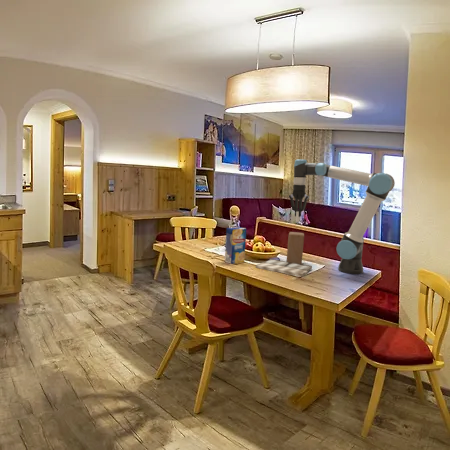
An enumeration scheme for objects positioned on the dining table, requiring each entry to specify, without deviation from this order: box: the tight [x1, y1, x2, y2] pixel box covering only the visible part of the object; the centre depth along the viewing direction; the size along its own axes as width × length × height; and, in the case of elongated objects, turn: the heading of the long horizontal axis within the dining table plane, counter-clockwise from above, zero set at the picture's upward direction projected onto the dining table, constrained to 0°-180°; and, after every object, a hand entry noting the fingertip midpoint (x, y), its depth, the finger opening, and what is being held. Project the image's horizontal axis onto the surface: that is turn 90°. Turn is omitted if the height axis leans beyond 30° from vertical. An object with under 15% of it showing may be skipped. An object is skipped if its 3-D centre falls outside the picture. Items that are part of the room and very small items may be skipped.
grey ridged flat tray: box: [255, 262, 309, 277], centre depth 245 cm, size 30×10×2 cm, turn 59°
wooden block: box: [286, 231, 305, 265], centre depth 266 cm, size 10×10×20 cm
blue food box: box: [224, 226, 247, 265], centre depth 259 cm, size 7×11×22 cm, turn 128°
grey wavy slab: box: [287, 263, 313, 272], centre depth 250 cm, size 13×9×2 cm
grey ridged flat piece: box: [264, 258, 290, 267], centre depth 258 cm, size 13×9×2 cm
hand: (297, 221), depth 254 cm, fingers closed
